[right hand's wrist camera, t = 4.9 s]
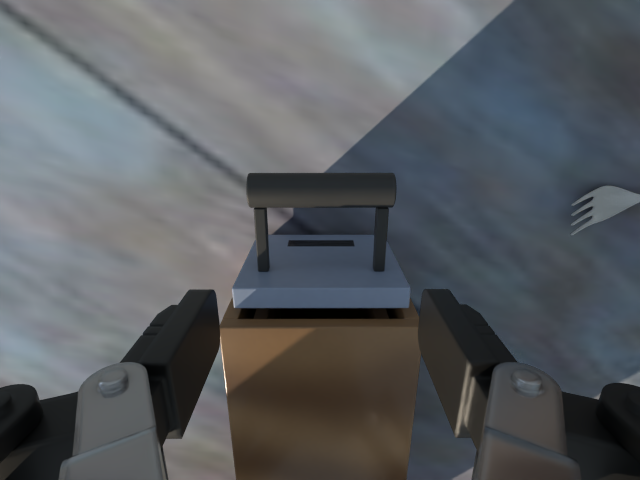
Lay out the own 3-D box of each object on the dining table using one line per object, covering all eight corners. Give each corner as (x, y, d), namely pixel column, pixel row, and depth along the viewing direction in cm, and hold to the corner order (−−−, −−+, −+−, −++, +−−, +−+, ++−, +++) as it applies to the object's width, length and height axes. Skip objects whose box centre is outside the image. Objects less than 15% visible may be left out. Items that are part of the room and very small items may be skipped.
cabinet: (252, 251, 27) (217, 327, 18) (388, 251, 27) (425, 326, 18) (266, 446, 34) (246, 574, 25) (375, 446, 34) (395, 574, 25)
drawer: (252, 157, 24) (221, 181, 16) (389, 157, 24) (421, 181, 16) (270, 432, 32) (255, 532, 25) (371, 431, 32) (387, 532, 25)
